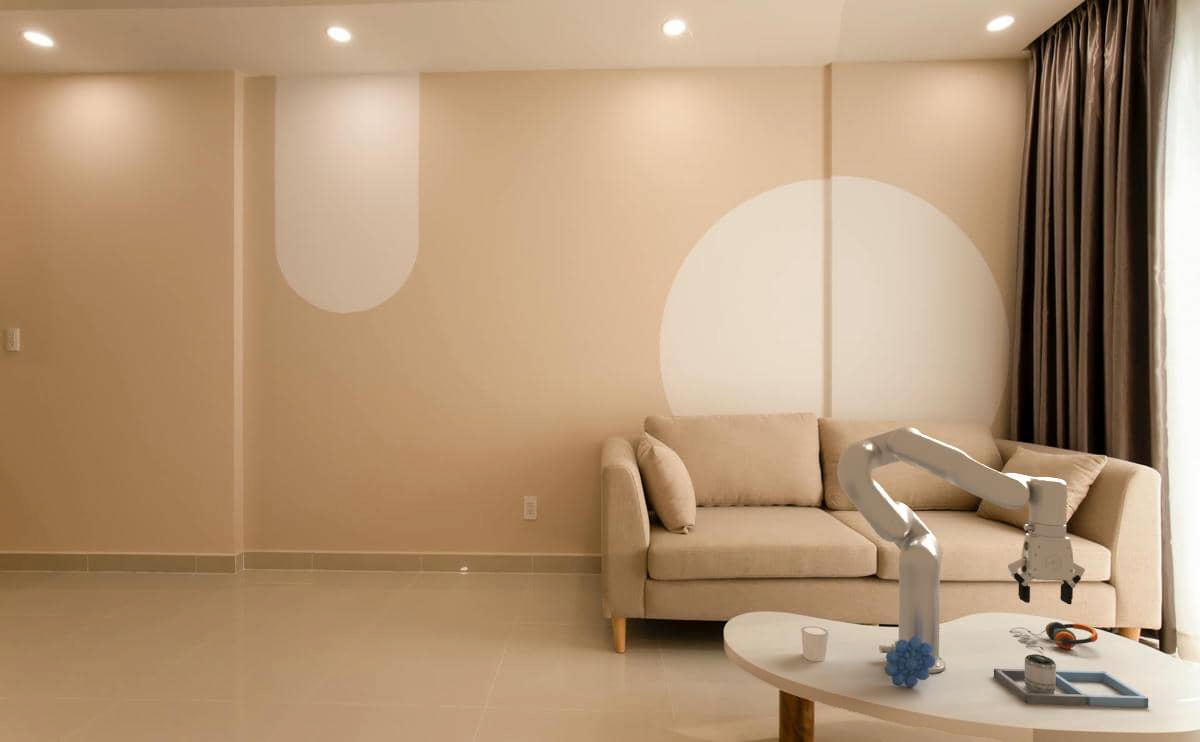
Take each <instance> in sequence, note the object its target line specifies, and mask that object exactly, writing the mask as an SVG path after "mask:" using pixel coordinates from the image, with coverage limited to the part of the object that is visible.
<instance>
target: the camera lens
mask: <svg viewBox="0 0 1200 742" xmlns="http://www.w3.org/2000/svg"><path fill="white" fill-rule="evenodd" d="M1024 669H1025V678H1024V679H1023V680H1024V684H1025V688H1026V689H1025V690H1026V691H1027V692H1029V693H1042V694H1055V691H1056V686H1057V685H1056V670H1057V664H1056V662H1055V661H1054V660H1053V659H1052V658H1050V657H1047V656H1045V655H1043V654H1039V653H1038V654H1035V653H1034V654H1032V653H1031V654H1028V655H1026V656H1025V658H1024Z"/></svg>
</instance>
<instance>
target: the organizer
mask: <svg viewBox="0 0 1200 742" xmlns="http://www.w3.org/2000/svg"><path fill="white" fill-rule="evenodd" d="M993 677H994V678H995V679H996V680H997V681H998V682H1000V683H1001V684H1002V685H1003V686H1004V687H1006V688H1008V690H1009V691H1011V692H1012V693H1014V694H1015V696H1017V697H1018V698H1019V699H1020V700H1022V701H1023V702H1025V704H1027V705H1052V706H1054V705H1056V706H1057V705H1058V706H1063V705H1064V706H1086V705H1088V706H1089V705H1093V706H1092V707H1094V706H1096V707H1097V706H1098V707H1122V708H1123V707H1124V708H1125V707H1129V708H1131V707H1132V708H1135V707H1136V708H1137V707H1138V708H1149V697H1147V696H1146V695H1144V694H1142V693H1140V692H1139V691H1137V690H1136V689H1134V688H1133V687H1131V686H1129V685H1127V684H1126V683H1124V682H1123V681H1121V680H1120V679H1118V678H1116V677H1114V676H1113V675H1111V674H1110V673H1108V672H1107V671H1104V670H1103V671H1097V670H1094V671H1093V670H1059V669H1058V670H1057V669H1056V686H1058V687H1059V688H1060V689H1061V690H1063V691H1064V692H1066V693H1054V694H1042V693H1032V692H1029V691H1028V690H1027V689H1025V688H1024V687H1022V686H1021V685H1019V684H1018V683H1017V682H1016V681H1014V680H1024V678H1025V668H1024V669H1022V668H1021V669H1020V668H1019V669H1018V668H993ZM1069 681H1073V682H1074V681H1077V682H1103V683H1106V684H1107V685H1108V684H1109V686H1110V687H1112V688H1113V689H1114V690H1116V691H1118V692H1120V693H1121V694H1122V695H1108V694H1106V695H1105V694H1087V693H1085V692H1084V691H1082V690H1081V689H1080V688H1078V687H1077V686H1075V685H1074V684H1072V683H1071V682H1069Z"/></svg>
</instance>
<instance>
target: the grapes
mask: <svg viewBox="0 0 1200 742" xmlns="http://www.w3.org/2000/svg"><path fill="white" fill-rule="evenodd" d="M898 640H899V639H898ZM898 640H897V641H898ZM895 647H896V650H890V651H889V652H888V653H886V655H885V658H886V661H887V662H888V663H887V664H886V665H885V667H884V673H885V674H886V675H887V676H888V677H891V681H892V683H893V684H894V685H895V686H902V685H903V684H904V685H905V686H906V687H908V688H913V687H915V686H916V685H917V684H918V682H919V681H925V680H927V679H928V678H929V677H930V675H931V673H930V672H929V669H928V668H930V667H932V666H933V665H934V664H935V658H934V656H933V655H929V654H930V653H931V652H932V646H931V644H929V643H922V642H921V639H920V638H919V637H912V638H911V639H910V640H909V642H907V641H906V640H902V639H901V640H899V641H898V642H897V643H896V645H895Z"/></svg>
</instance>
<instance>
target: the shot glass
mask: <svg viewBox="0 0 1200 742" xmlns="http://www.w3.org/2000/svg"><path fill="white" fill-rule="evenodd" d="M800 630H801V631H800V632H801V642H802V643H801V644H802V654H803V655H802V656H804V657H805V658H806V659H805V658H804V657H803V658H804V659H805V660H807V659H808V660H807V661H809V660H812V661H811V662H813V661H822V662H824V661H823V660H825V659H826V660H827V651H828V643H829V634H830V633H829V630H827V629H826V628H822V627H821V626H820V627H818V626H811V625H810V626H809V625H808V626H803V627H802V628H801V629H800ZM826 660H825V661H826Z"/></svg>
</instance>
